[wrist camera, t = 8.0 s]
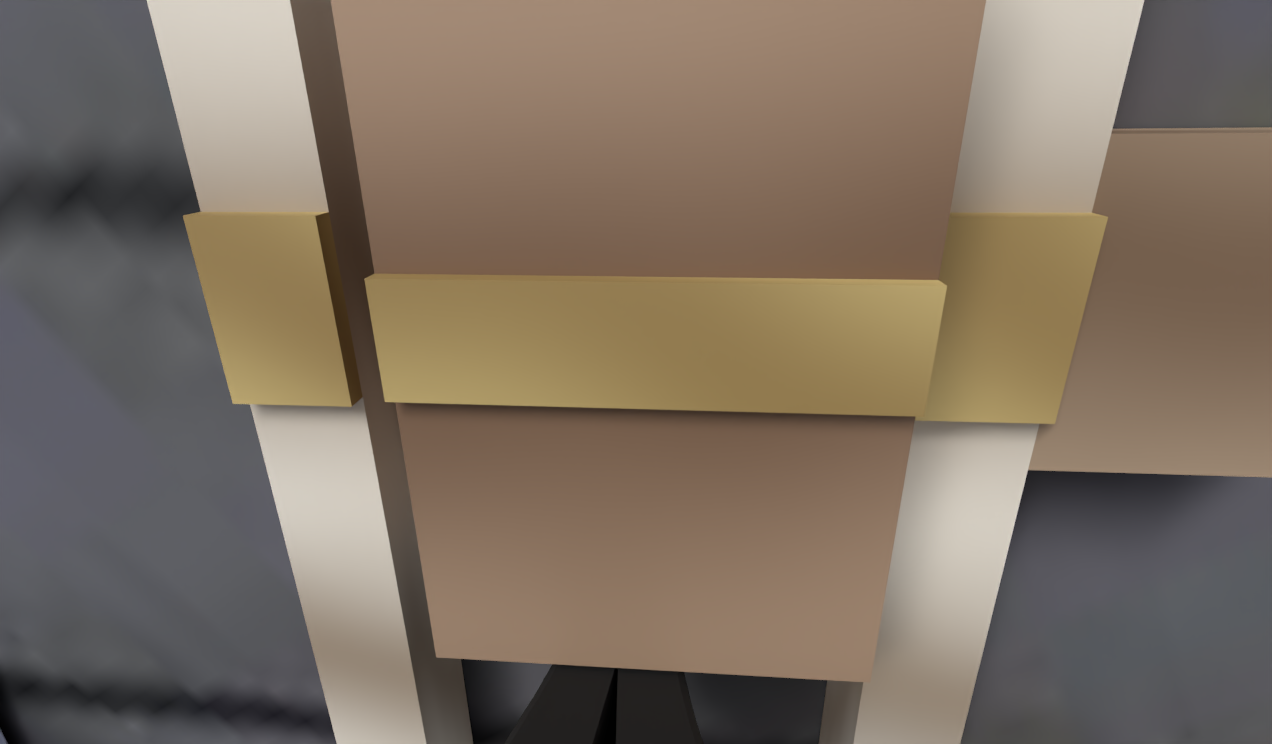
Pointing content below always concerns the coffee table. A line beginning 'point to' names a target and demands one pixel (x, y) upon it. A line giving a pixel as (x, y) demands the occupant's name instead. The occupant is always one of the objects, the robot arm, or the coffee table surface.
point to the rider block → (657, 312)
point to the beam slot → (941, 441)
